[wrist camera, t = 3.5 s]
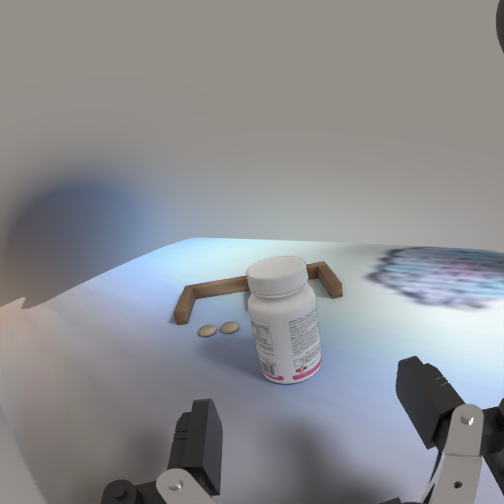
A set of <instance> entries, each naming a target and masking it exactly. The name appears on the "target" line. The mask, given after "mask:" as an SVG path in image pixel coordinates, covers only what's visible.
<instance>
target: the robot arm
mask: <svg viewBox="0 0 504 504" xmlns="http://www.w3.org/2000/svg"><path fill="white" fill-rule="evenodd" d="M496 30H497V36H498V40H499V43H500V46H501V48H502V50H503V52H504V0H500V1H499V4H498V8H497V13H496ZM396 393H397V397H398V399H399V401H400V402H401V404H402V406H403V407H404V409H405V411H406V413H407V414H408V416H409V418H410V420H411V421H412V423H413V425H414V427H415V428H416V430H417V432H418V434H419V435H420V437H421V439H422V441H423V443H424V444H425V446H426V448H427V450H428V449H430V448H433V447H435V446H436V447H437V449H438V452H437V455H436V458H435V462H434V465H433V469H432V472H431V475H430V478H429V481H428V484H427V487H426V490H425V492H424V494H423V497H422V499H421V501H420V503H418V502H402V503H401V501H400V499H399V497H398V498H395V499H392V500H389V501H386V502H383V503H380V504H473V503H474V499H475V495H476V491H477V486H478V481H479V476H480V471H481V465H482V456H483V458H484V459H485V461H486V463H487V465H488V467H489V468H490V470H491V472H492V474H493V476H494V478H495V480H496V482H497V483H498V485H499V487H500V489H501V491H502V493H503V495H504V398H503V399H502V400H501V402H500V404H499V406H498V407H493V408H489V409H483V410H481V409H480V408H479V407H477V406H476V405H473V404H465V402H464V401H463V400H462V399H461V397H460V396H459V395H458V393H457V392H456V391H455V390H454V388H453V387H452V386H451V385H450V383H448V381H447V380H446V378H445V377H443V375H442V374H441V372H440V371H439V370H438V369H437V368H436V367H434V366H432V365H431V364H429V363H427V364H424V365H423V363H422V362H421V361H420V360H419V358H418V357H417V356H413V357H410V358H406V359H403V360H400V361H399V363H398V371H397V380H396ZM222 439H223V431H222V424H221V421H220V418H219V416H218V413H217V410H216V408H215V405H214V402H213V400H212V399H202V400H194V401H193V405H192V411H191V412H187V413H183V414H182V416H181V417H180V418H179V420H178V421H177V424H176V429H175V434H174V441H173V444H172V449H171V454H170V459H169V464H168V468H167V471H165V472H163V473H162V474H161V475H160V476H159V477H158V479H157V480H156V481H154V482H150V483H146V484H141V485H136V486H134V485H133V484H132V483H131V482H129V481H127V480H116V481H113V482H111V483H110V484H109V485H107V487H106V488H105V490H104V493H103V497H102V501H101V504H216V502H215V501H214V500H213V499H212V496H214V495H220V482H221V459H222Z"/></svg>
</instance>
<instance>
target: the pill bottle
mask: <svg viewBox="0 0 504 504" xmlns="http://www.w3.org/2000/svg"><path fill="white" fill-rule="evenodd" d="M247 280H248V285H249V289H250V292H251V293H252V294H251V295H250V297H249V299H248V311H249V316H250V321H251V326H252V330H253V335H254V340H255V344H256V349H257V354H258V358H259V363H260V367H261V370H262V373H263V374H264V376H265V377H266V378H267V379H269V380H271V381H273V382H276V383H281V384H292V383H298V382H302V381H304V380H307V379H308V378H310V377H312V376H313V375H314V374H315V373H316V372H317V371H318V369H319V368H320V365H321V359H322V358H321V344H320V333H319V323H318V313H317V304H316V297H315V292H314V290H313V288H312V287H311V286H310V285H308V274H307V269H306V263H305V261H304V260H303V259H301V258H299V257H293V256H280V257H273V258H269V259H265V260H262V261H259V262H257V263H255V264H253V265H251V266H250V267H249V268H248V269H247Z"/></svg>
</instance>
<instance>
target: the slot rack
mask: <svg viewBox="0 0 504 504" xmlns="http://www.w3.org/2000/svg"><path fill="white" fill-rule="evenodd" d="M306 269H307V274H308V279H312V278H317V277H319V278H320V280H321V282H322V283H323V285H324V286H325V288H326V290H327V291H328V293H329V294H330V296H331V298H336V297H341V296H342V283H341V282H340V281H339V279H338V278H337V277H336V276H335V274H334V273H333V272H332V270H331V269H330V268H329V267H328V265H327V264H326V263H325V262H324V261H323V262H318V263H313V264H307V265H306ZM246 290H250V289H249V285H248V280H247V276H241V277H235V278H229V279H224V280H218V281H212V282H206V283H200V284H194V285H188V286H185V288H184V290H183V292H182V295H181V297H180V299H179V301H178V304H177V306H176V309H175V311H174V316H175V319H176V322H177V325H179V324H187V323H188V321H189V318H190V315H191V311H192V308H193V305H194V302H195V299H197V298H204V297H210V296H216V295H222V294H228V293H234V292H240V291H246ZM251 294H252V293H251ZM238 329H239V325H238V323H237V322H227V323H224V324H223V325H222V326H221V332H222V333H226V334H229V333H233V332H235V331H237V330H238ZM198 333H199V335H200V336H202V337H208V336H211V335H213V334H215V333H216V327H215V326H213V325H206V326H203V327H201V328H200V329H199V330H198Z"/></svg>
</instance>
